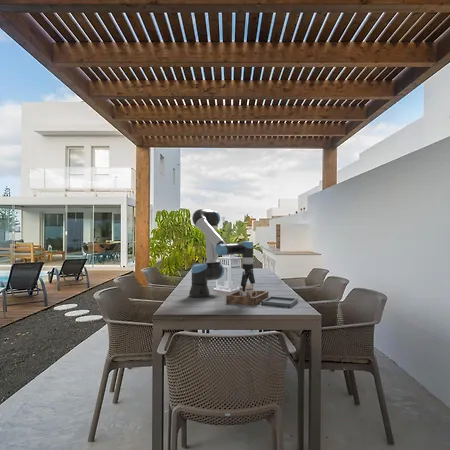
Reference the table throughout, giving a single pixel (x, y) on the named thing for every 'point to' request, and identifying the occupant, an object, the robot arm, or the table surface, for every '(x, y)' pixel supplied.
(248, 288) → the teacup with lid
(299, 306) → the table surface
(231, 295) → the crate
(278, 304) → the tray
